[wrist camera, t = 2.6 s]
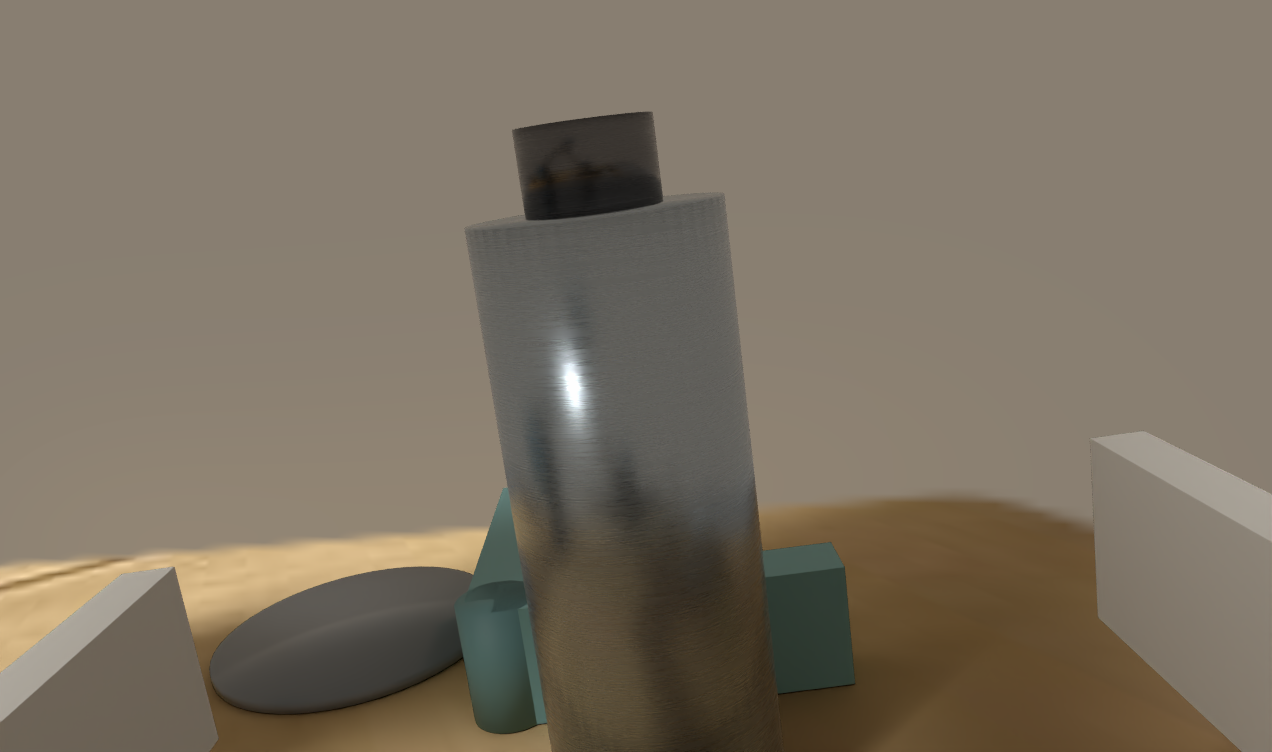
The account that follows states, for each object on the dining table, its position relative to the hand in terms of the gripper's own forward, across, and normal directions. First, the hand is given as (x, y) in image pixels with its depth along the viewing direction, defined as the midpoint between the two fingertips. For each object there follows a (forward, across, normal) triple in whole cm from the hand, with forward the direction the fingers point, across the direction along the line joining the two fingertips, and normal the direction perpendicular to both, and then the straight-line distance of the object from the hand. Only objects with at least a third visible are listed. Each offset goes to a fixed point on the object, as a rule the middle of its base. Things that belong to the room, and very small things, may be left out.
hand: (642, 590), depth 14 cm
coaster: (+23, -12, -11) cm, 28 cm away
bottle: (+10, 0, -11) cm, 15 cm away
